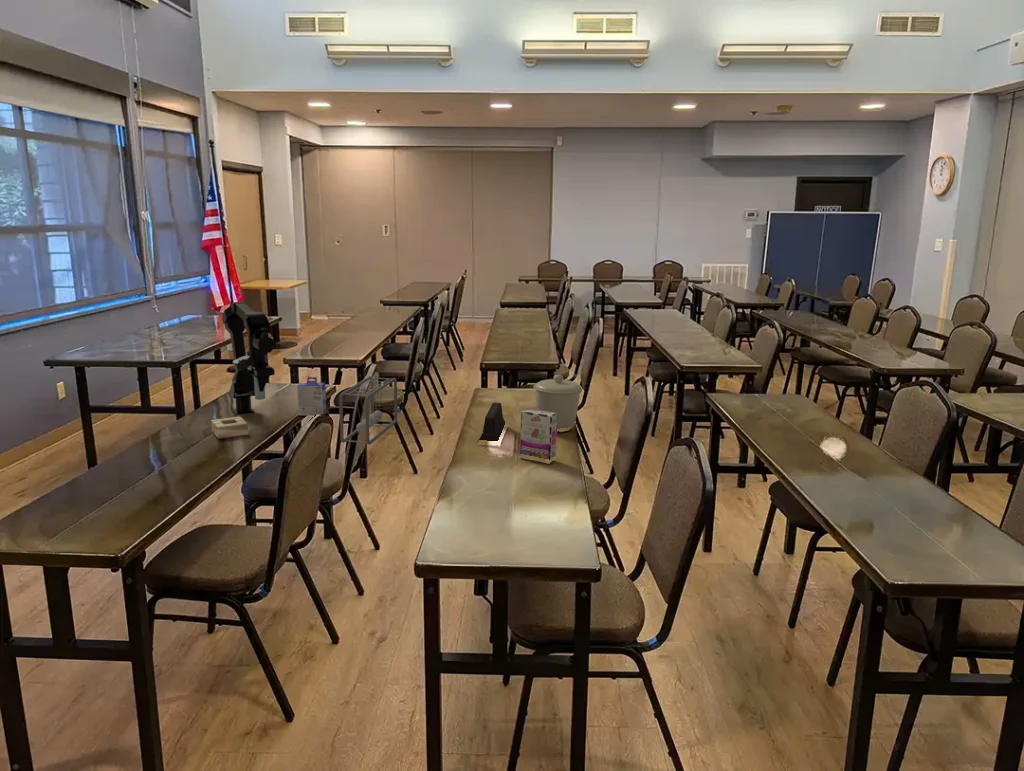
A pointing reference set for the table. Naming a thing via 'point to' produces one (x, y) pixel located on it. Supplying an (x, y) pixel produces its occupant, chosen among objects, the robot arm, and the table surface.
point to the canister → (559, 399)
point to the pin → (258, 394)
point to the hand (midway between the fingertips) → (259, 390)
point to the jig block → (229, 427)
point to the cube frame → (375, 415)
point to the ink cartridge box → (311, 398)
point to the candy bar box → (538, 433)
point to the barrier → (493, 423)
